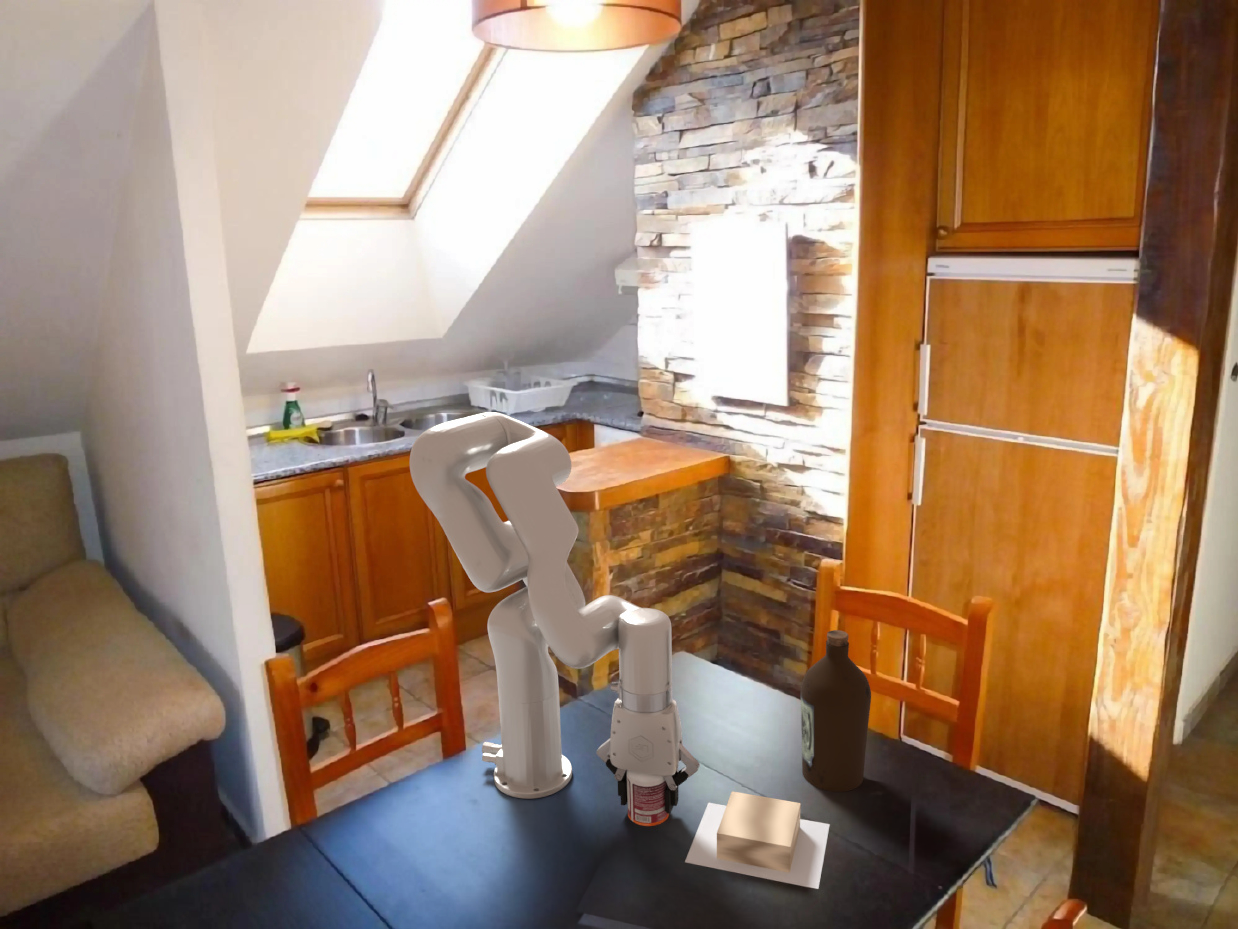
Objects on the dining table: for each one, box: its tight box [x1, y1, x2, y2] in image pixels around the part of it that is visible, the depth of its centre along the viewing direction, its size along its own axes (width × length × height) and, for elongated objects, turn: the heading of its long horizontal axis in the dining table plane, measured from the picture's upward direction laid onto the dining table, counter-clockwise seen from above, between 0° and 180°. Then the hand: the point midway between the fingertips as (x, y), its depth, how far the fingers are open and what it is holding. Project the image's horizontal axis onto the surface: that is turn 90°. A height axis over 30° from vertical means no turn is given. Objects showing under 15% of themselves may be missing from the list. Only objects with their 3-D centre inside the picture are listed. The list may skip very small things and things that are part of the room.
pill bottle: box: [627, 770, 670, 827], centre depth 133 cm, size 6×6×11 cm
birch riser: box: [717, 790, 802, 873], centre depth 126 cm, size 10×10×4 cm
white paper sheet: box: [684, 802, 831, 890], centre depth 127 cm, size 18×14×1 cm
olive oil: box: [799, 629, 872, 793], centre depth 140 cm, size 11×11×25 cm
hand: (648, 803), depth 133 cm, fingers closed on pill bottle, 6 cm apart
